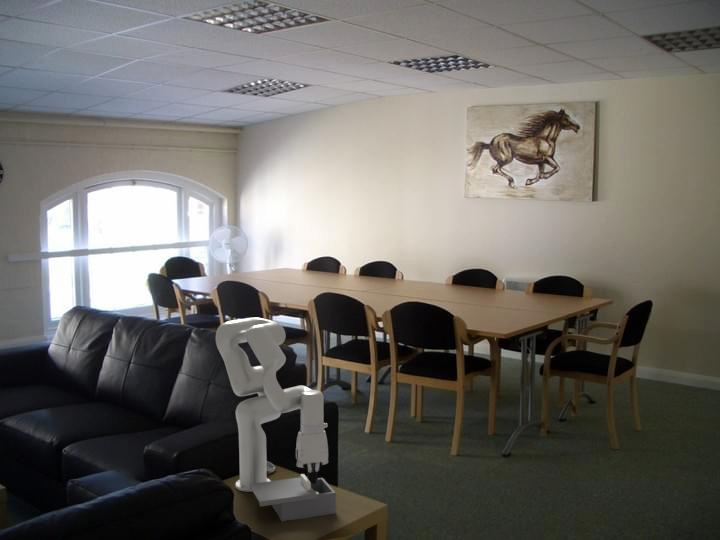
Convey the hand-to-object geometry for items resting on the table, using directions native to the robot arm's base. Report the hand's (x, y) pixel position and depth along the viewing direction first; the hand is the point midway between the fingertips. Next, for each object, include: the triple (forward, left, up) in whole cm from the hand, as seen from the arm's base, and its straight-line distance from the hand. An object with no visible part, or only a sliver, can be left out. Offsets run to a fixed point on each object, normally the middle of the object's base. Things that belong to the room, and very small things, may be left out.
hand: (312, 482), depth 247 cm
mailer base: (0, -3, -9) cm, 9 cm away
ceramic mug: (-39, -9, -9) cm, 41 cm away
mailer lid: (0, -10, -2) cm, 10 cm away
